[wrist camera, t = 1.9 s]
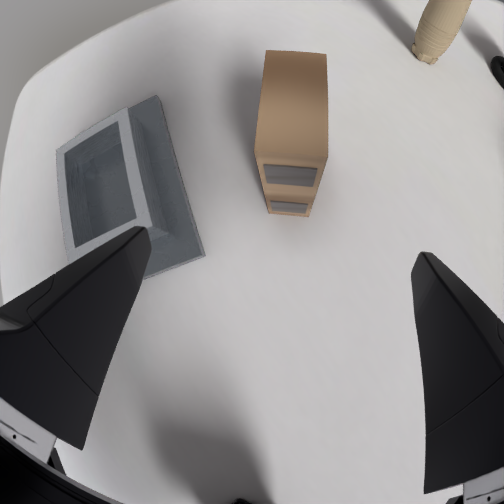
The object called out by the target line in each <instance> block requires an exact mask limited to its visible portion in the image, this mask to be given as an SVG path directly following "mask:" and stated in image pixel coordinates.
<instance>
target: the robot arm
mask: <svg viewBox="0 0 504 504" xmlns="http://www.w3.org/2000/svg"><path fill="white" fill-rule="evenodd" d="M151 252H152V246H151V242H150V238H149V234H148V230H147V228H146V227H144V226H134V227H132V228H130V229H128V230H126V231H125V232H123V233H121V234H119V235H118V236H116V237H114V238H112V239H111V240H109V241H107V242H105V243H104V244H102V245H100V246H99V247H97V248H95V249H94V250H92V251H90V252H89V253H87V254H85V255H84V256H82V257H80V258H79V259H77V260H75V261H74V262H72V263H71V264H69V265H67V266H66V267H64V268H63V269H61V270H60V271H58V272H56V274H53V275H52V276H50V277H49V278H47V279H46V280H44V281H42V282H41V283H39V284H38V285H36V286H35V287H33V288H31V289H30V290H28V291H26V292H25V293H23V294H21V295H20V296H18V297H16V298H15V299H13V300H11V301H10V302H8V303H6V304H5V305H3V306H2V307H0V504H123V503H121V502H118V501H116V500H114V499H111V498H109V497H107V496H105V495H103V494H100V493H98V492H96V491H94V490H92V489H90V488H88V487H86V486H84V485H82V484H80V483H78V482H76V481H75V480H73V479H71V478H69V477H67V476H66V474H65V471H64V469H63V466H62V464H61V461H60V458H59V456H58V453H57V450H56V448H54V445H55V442H56V440H57V438H59V439H61V440H62V441H64V442H66V443H68V444H70V445H72V446H74V447H76V448H78V449H80V450H83V447H84V444H85V441H86V437H87V433H88V430H89V427H90V423H91V420H92V417H93V413H94V410H95V407H96V404H97V401H98V396H99V394H100V391H101V388H102V385H103V382H104V379H105V376H106V373H107V371H108V368H109V365H110V362H111V359H112V357H113V354H114V351H115V349H116V346H117V343H118V341H119V338H120V336H121V333H122V330H123V328H124V325H125V323H126V320H127V318H128V315H129V313H130V311H131V308H132V306H133V303H134V301H135V299H136V296H137V294H138V291H139V289H140V286H141V283H142V280H143V277H144V273H145V270H146V267H147V264H148V261H149V258H150V255H151ZM411 282H412V292H413V303H414V315H415V323H416V329H417V335H418V342H419V350H420V357H421V366H422V376H423V387H424V402H425V425H426V451H425V478H424V494H428V493H432V492H436V491H440V490H444V489H448V488H451V487H455V486H458V485H462V484H463V495H460V496H457V497H453V498H450V499H449V500H448V501H447V503H446V504H504V323H503V322H502V321H501V320H500V319H499V318H497V316H496V315H495V313H494V312H493V311H492V310H491V309H490V308H489V307H488V306H487V305H486V304H485V303H484V302H483V301H482V300H481V299H480V298H479V297H478V296H477V295H476V294H475V293H474V292H473V291H472V290H471V289H470V288H469V287H468V286H467V285H466V284H465V283H464V282H463V281H462V280H461V279H460V278H459V277H458V276H457V275H456V274H455V273H454V272H452V271H451V270H450V269H449V268H448V267H447V266H446V265H445V264H444V263H443V262H442V261H441V260H439V259H438V258H437V257H436V256H435V255H434V254H433V253H431V252H420V253H419V255H418V257H417V259H416V262H415V264H414V267H413V269H412V272H411ZM239 503H241V504H251V503H249V502H247V501H245V500H242V499H237V500H235V501H234V502H233V503H231V504H239Z"/></svg>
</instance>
